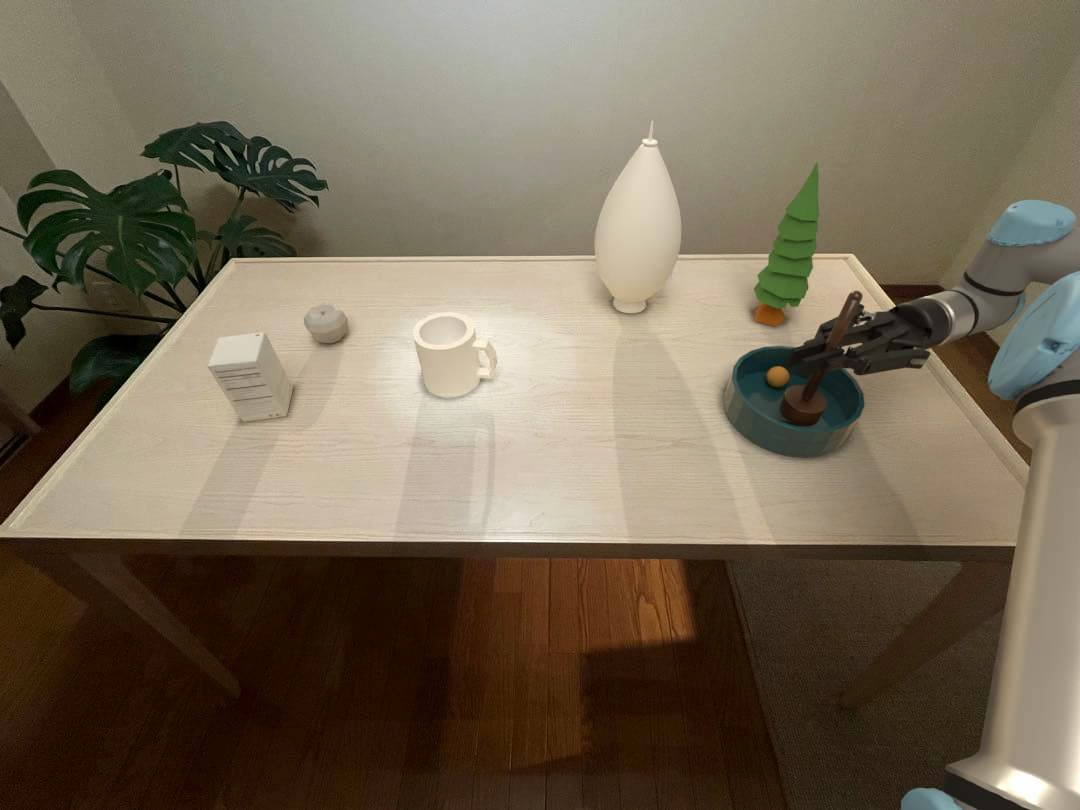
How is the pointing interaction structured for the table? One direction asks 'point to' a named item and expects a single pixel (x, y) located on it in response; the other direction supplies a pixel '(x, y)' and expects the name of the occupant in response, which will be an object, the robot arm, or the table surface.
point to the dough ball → (777, 377)
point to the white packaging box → (251, 376)
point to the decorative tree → (790, 256)
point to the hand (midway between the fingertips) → (795, 363)
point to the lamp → (638, 230)
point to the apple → (326, 323)
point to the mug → (451, 354)
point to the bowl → (758, 402)
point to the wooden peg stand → (817, 375)
